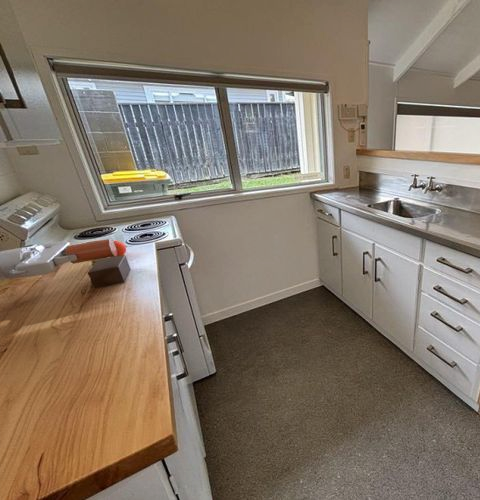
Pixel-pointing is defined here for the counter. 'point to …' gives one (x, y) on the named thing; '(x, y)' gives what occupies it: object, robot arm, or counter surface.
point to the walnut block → (109, 271)
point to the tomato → (119, 248)
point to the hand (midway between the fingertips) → (80, 252)
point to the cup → (92, 250)
